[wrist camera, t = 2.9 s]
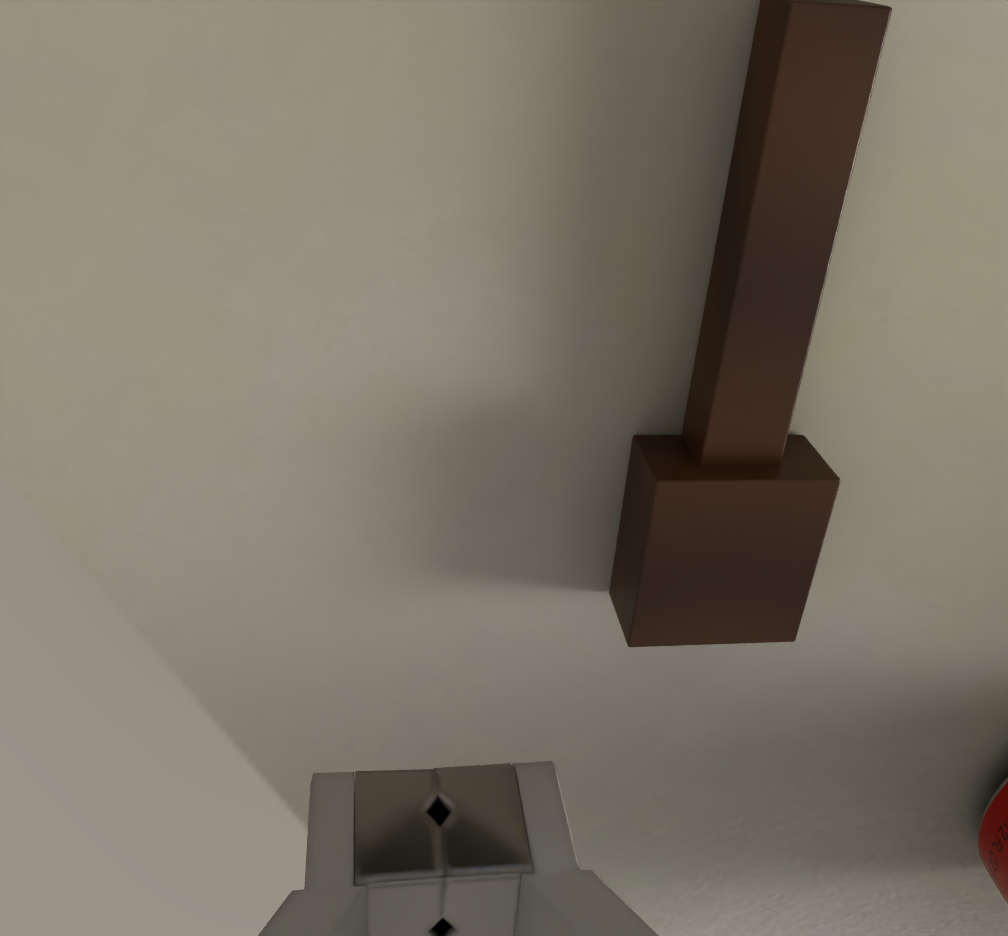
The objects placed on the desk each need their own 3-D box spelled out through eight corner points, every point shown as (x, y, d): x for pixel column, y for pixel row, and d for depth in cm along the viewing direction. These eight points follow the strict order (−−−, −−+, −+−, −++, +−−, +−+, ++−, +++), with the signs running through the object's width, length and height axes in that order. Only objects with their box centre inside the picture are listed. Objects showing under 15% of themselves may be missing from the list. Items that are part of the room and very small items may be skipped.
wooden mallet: (700, -11, 17) (739, -2, 15) (914, 3, 17) (974, 15, 16) (608, 593, 23) (627, 648, 22) (764, 589, 24) (795, 642, 22)
